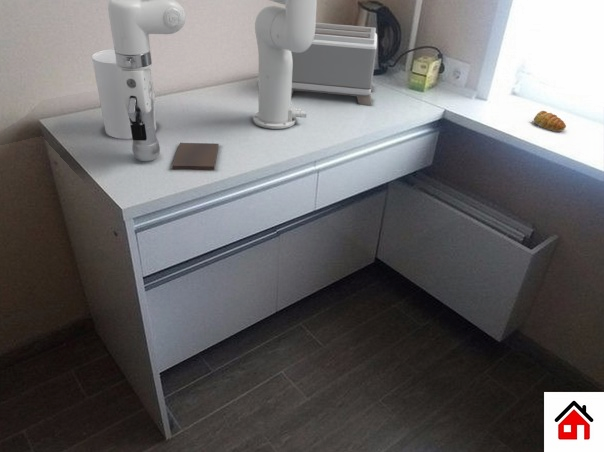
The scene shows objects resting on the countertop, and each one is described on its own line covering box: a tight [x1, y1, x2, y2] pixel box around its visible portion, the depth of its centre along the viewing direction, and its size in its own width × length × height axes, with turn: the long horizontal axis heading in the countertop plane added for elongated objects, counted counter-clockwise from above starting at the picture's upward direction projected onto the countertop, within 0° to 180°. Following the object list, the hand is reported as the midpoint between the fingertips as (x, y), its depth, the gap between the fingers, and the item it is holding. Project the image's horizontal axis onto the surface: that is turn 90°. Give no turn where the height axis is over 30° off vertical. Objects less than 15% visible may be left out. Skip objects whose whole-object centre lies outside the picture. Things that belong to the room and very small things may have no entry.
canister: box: [91, 48, 157, 140], centre depth 132 cm, size 14×14×20 cm
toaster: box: [291, 22, 378, 106], centre depth 166 cm, size 19×34×20 cm, turn 82°
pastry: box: [533, 110, 567, 132], centre depth 154 cm, size 9×7×4 cm
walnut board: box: [171, 142, 220, 171], centre depth 125 cm, size 10×13×1 cm
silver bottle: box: [125, 82, 161, 162], centre depth 118 cm, size 6×7×20 cm
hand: (143, 131), depth 120 cm, fingers open, 8 cm apart
